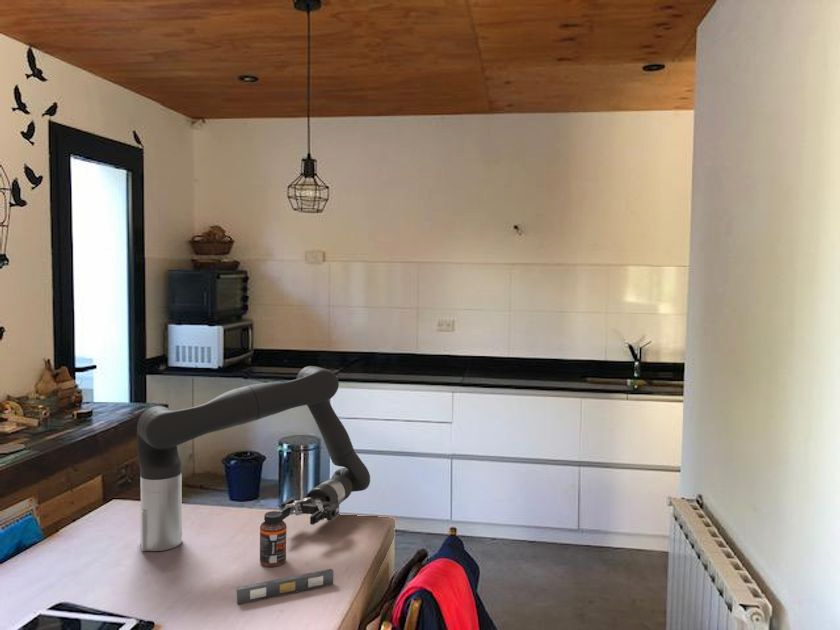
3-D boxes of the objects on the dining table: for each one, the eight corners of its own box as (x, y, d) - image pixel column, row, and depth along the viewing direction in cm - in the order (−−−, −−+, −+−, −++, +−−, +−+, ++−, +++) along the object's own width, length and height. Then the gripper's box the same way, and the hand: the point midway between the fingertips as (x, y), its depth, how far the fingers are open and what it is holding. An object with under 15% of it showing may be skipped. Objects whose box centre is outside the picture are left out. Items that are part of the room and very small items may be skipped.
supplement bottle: (279, 569, 146) (279, 519, 145) (255, 566, 147) (255, 517, 146) (290, 558, 152) (290, 510, 151) (266, 555, 153) (266, 508, 152)
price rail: (237, 605, 130) (237, 590, 130) (236, 601, 131) (236, 587, 131) (333, 585, 139) (334, 571, 139) (331, 582, 140) (331, 568, 140)
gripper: (302, 480, 176) (270, 499, 161) (350, 486, 172) (322, 507, 156) (302, 507, 177) (270, 529, 161) (350, 514, 172) (322, 537, 157)
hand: (295, 518), depth 159 cm, fingers open, 8 cm apart
